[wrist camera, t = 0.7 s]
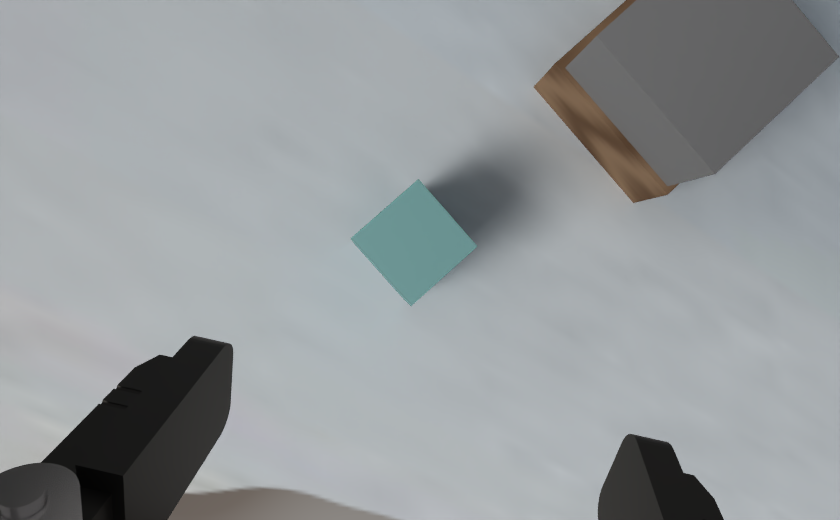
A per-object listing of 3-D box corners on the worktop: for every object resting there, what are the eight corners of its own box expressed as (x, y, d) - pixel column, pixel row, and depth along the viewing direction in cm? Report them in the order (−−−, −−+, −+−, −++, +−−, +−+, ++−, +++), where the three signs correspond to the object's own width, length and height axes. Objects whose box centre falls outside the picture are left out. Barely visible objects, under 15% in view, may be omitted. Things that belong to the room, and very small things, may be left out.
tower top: (564, 67, 36) (596, 35, 31) (676, -33, 36) (725, -80, 31) (667, 186, 36) (715, 173, 31) (775, 84, 37) (838, 56, 32)
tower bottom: (532, 88, 41) (554, 63, 36) (641, -9, 41) (678, -47, 36) (631, 203, 41) (667, 194, 36) (737, 105, 42) (786, 83, 37)
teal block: (354, 243, 39) (350, 238, 31) (408, 196, 39) (418, 179, 31) (402, 297, 39) (410, 306, 31) (455, 250, 40) (477, 246, 32)
